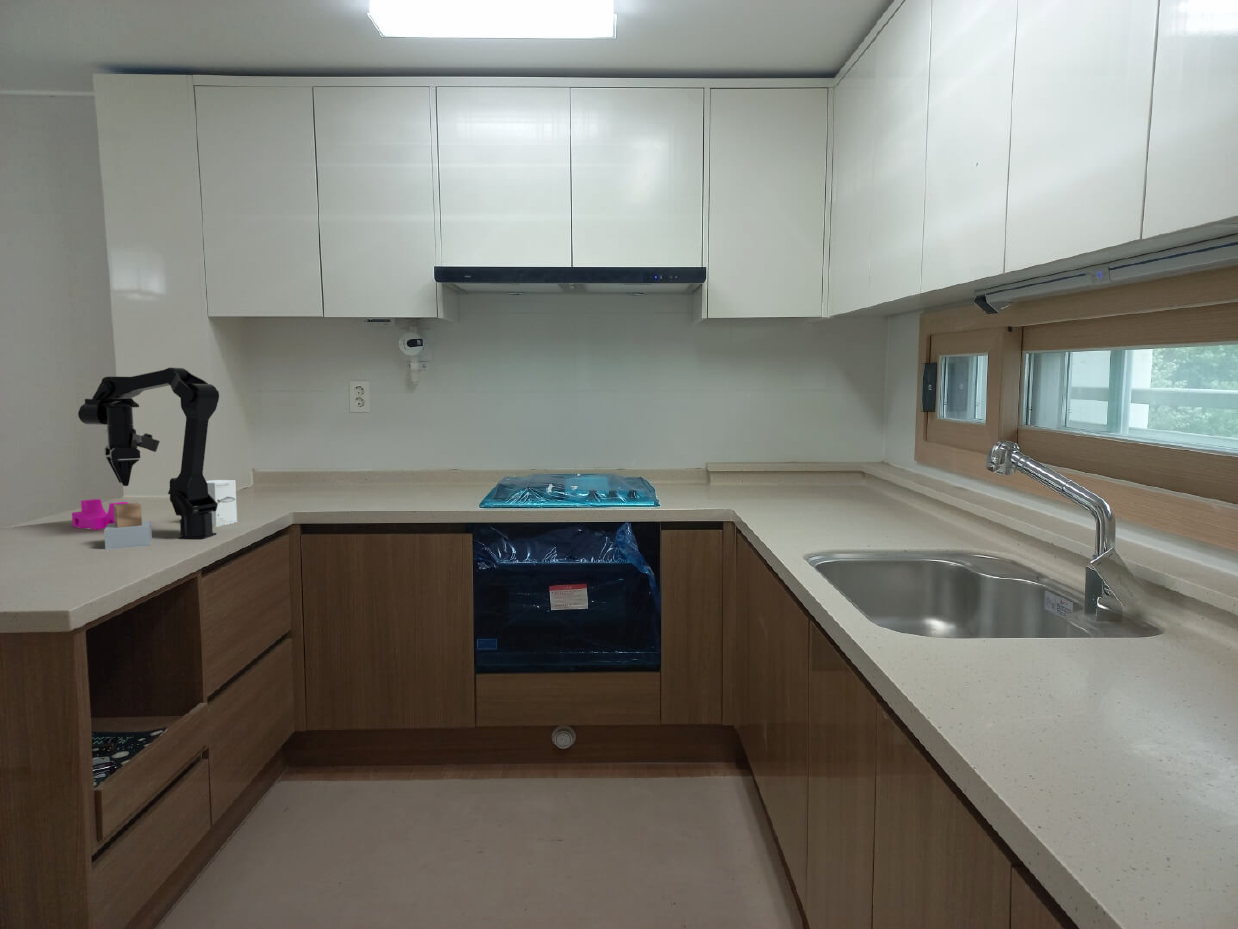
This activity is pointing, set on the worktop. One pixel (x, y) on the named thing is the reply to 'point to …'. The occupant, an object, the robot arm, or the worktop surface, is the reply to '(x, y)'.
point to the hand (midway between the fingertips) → (123, 484)
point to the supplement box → (223, 501)
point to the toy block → (94, 515)
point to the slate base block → (128, 536)
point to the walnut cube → (127, 515)
